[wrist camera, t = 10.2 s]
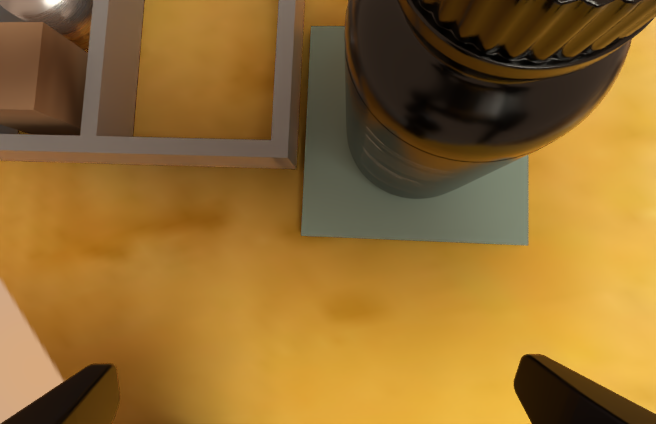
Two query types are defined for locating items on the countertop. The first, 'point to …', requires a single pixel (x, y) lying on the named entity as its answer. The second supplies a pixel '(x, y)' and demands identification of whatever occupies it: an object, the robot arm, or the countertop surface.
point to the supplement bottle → (474, 82)
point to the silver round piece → (57, 16)
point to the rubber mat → (377, 205)
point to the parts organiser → (120, 98)
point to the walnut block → (40, 80)
